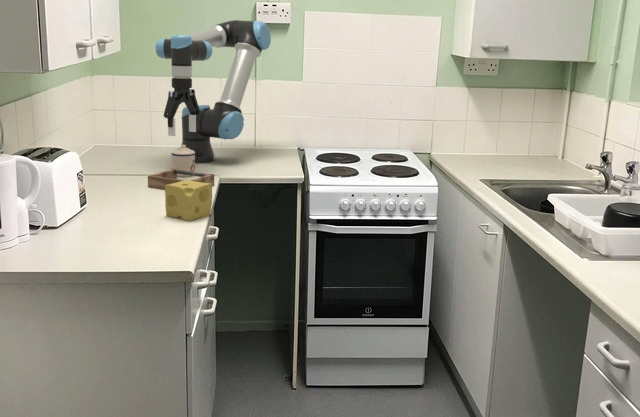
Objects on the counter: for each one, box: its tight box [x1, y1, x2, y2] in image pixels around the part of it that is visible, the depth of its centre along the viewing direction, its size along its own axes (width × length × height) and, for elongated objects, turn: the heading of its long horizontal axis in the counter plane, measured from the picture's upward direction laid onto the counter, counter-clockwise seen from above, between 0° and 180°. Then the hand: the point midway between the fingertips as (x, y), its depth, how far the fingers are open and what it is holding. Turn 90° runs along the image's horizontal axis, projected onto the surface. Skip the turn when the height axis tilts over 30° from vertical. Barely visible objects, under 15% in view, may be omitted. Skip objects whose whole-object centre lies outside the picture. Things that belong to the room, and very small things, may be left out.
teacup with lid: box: [170, 144, 196, 178], centre depth 270 cm, size 12×9×12 cm
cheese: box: [164, 179, 213, 222], centre depth 214 cm, size 10×11×10 cm
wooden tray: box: [147, 168, 215, 191], centre depth 252 cm, size 15×18×4 cm
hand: (182, 133), depth 267 cm, fingers open, 13 cm apart
